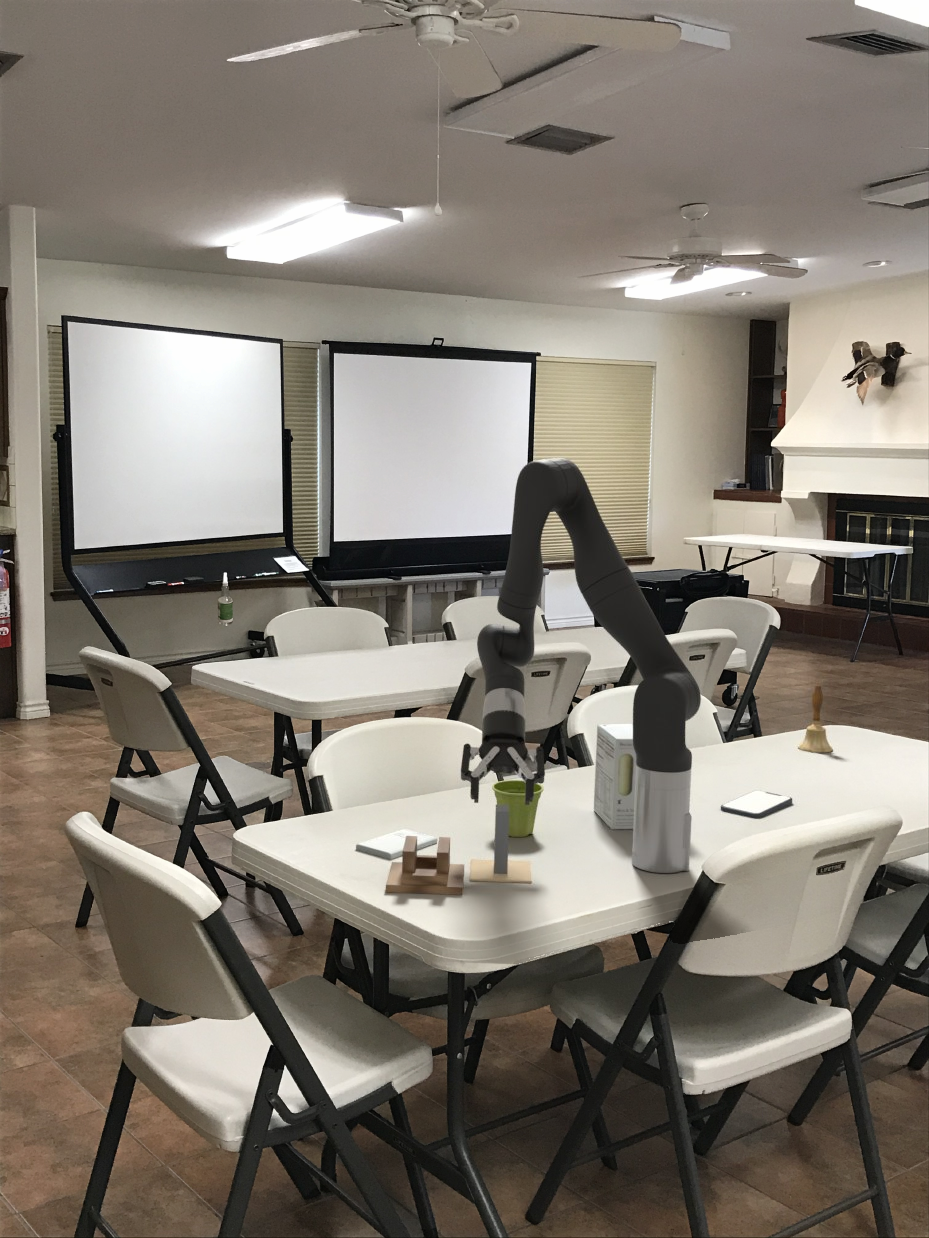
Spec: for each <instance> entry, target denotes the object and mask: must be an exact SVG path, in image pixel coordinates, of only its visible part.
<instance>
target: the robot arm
mask: <svg viewBox="0 0 929 1238" xmlns="http://www.w3.org/2000/svg"><path fill="white" fill-rule="evenodd" d="M519 471H520V472H519V473H518V477H517V479H516V484H515V485H516V486H515V492H514V500H513V501H514V502H513V513H512V524H511V526H512V527H511V534H510V535H511V536H510V544H509V545H510V546H509V553H508V559H507V563H506V569H505V572H504V577H503V580H502V584H501V588H500V592H499V596H498V599H497V605H496V608H497V609H496V610H497V612H498V614H499V615H501V616H502V617H504V618H505V619H508V620H510V621H511V622H515V623H516V624H518V625H519V627H513V626H507V625H501V624H496V623H489V624H486V625H485V626H484V627H482V628H481V630H480V631H479V633H478V636H477V641H476V647H477V654H478V657H479V658H478V659H479V660H480V664H481V667H482V670H483V674H484V675H483V676H484V679H485V684H484V685H485V687H484V689H485V690H484V701H483V702H484V703H483V709H482V717H481V719H482V726H481V727H482V728H481V729H482V733H481V745H480V746H478V747H474V746H471V744H470V743H465V744H463V750H462V758H461V759H462V760H461V766H460V779H461V780H462V781H465V782H466V781H468V782H469V783H470V795H469V796H470V799H471V800H473V801H474V804H478V803H479V796H480V781H481V780H482V779H483V778H485V777H486V776H487V775H488V774H489V773H490V772H491V771H492V772H493V773H495V774H499V773H500V774H501V773H506V774H513V773H514V772H515V774H516V776H518V777H519V779H522V781H524V782H525V805H529V802H532V801H533V798H534V785H535V784H536V783H538V784H540V785H542V784H544V783H545V776H546V770H545V769H546V768H545V755H544V753H545V752H544V748H543V746H541V745H539V746H537V747H536V748H534V749H533V748H531V749H530V748H529V749H528V747H526V722H527V721H526V719H527V718H526V703H525V675H524V673H523V672H522V670H521V669H519V667H520V668H521V667H525V666H527V665H528V664H529V663H530V662H531V661H532V660H533V658H534V655H535V633H534V631H535V629H534V628H535V627H534V626H535V616H536V615H535V614H536V611H537V610H536V609H537V605H538V602H539V598H540V595H541V591H542V588H543V583H544V573H545V572H544V562H543V555H542V544H541V543H542V536H543V532H544V528H545V526H546V525H545V524H546V522H547V521H548V517H549V515H550V513H553V512H555V513H556V516H558V518H559V519H560V521H561V522H562V525H563V526H564V527H565V530H566V532H567V533H568V536H569V539H570V541H571V544H572V550H573V561H574V562H573V563H574V564H573V565H574V573H575V581H576V583H577V584H576V585H577V587H578V588H579V589H578V590H579V592H580V594H581V596H582V598H583V599H584V601H585V603H586V605H587V607H588V608H589V610H590V612H591V613H592V615H593V617H594V618H595V620H596V621H597V622H598V624H599V625H600V626H601V627H602V628H603V629H604V630H605V631H606V632H607V633H608V635H610V636H611V637H612V638H613V639H614V641H616V642H617V643H618V645H620V646H621V647H622V648H623V649H624V650H625V651H626V653H627V654H628V655H629V656H630V658H631V659H632V661H633V662H634V664H635V666H636V668H637V670H638V672H639V674H640V676H641V677H642V680H641V682H639V684H638V685H637V687H636V690H635V692H634V697H633V702H632V724H633V747H634V750H635V753H636V779H635V781H636V782H635V802H634V825H633V829H632V850H631V855H632V856H631V857H632V858H631V863H632V865H633V866H634V867H635V868H638V869H639V870H642V871H646V872H650V873H660V874H673V873H679V872H686V871H687V872H688V871H690V859H691V858H690V857H691V841H692V840H691V839H692V838H691V837H692V836H691V835H692V814H691V812H690V809H691V808H690V806H691V805H690V802H691V785H692V784H691V782H692V767H693V765H692V764H693V754H692V751H691V749H689V748H688V747H687V744H686V725H687V724H686V722H687V721H689V720H690V719H692V718H694V716H696V715H697V713H698V711H699V709H700V707H701V703H702V698H701V697H702V696H701V695H702V694H701V690H700V687H699V684H698V682H697V681H696V679H695V677H694V676H693V674H692V673H691V671H690V670H689V669H688V667H687V666H686V664H685V663H684V661H683V660H682V659H681V657H680V655H679V654H678V653H677V651H676V650H675V648H674V647H673V645H672V644H671V643H670V641H669V639H668V638H667V636H666V634H665V632H664V630H663V629H662V627H661V625H660V623H659V621H658V619H657V617H656V616H655V614H654V611H653V610H652V608H651V607H650V604H649V603H648V600H646V597H645V594H644V593H643V591H642V589H641V587H640V585H639V584H638V582H637V580H636V578H635V576H634V574H633V572H632V571H631V569H630V567H629V565H628V563H627V562H626V560H625V559H624V557H623V555H622V554H621V552H620V550H619V548H618V546H617V545H616V543H615V540H614V539H613V537H612V536H611V534H610V531H609V530H608V528H607V526H606V524H605V522H604V520H603V518H602V516H601V513H600V512H599V509H598V507H597V505H596V503H595V500H594V497H593V495H592V492H591V490H590V487H589V486H588V484H587V481H586V479H585V477H584V474H583V473H582V471H581V470H580V469H579V467H578V466H577V465H576V464H575V463H574V461H572V460H569V459H568V458H564V457H554V458H543V459H538V460H532V461H530V462H528V463H527V464H525V465H524V466H523V467H522V469H521V470H519ZM476 756H478V757H479V758H480V759H481V760H480V761H479V763H478V764H477V766H476V767H475V768H474V769H473V771H472V770H470V763H471V761H473V760H474V759H475V757H476ZM527 758H530V759H531V762H533V763H535V766H536V767H535V768H536V769H535V770H536V772H535V773H533V772H532V770H531V769H530V768H529V767H528V765H527V763H526V760H527Z"/></svg>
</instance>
